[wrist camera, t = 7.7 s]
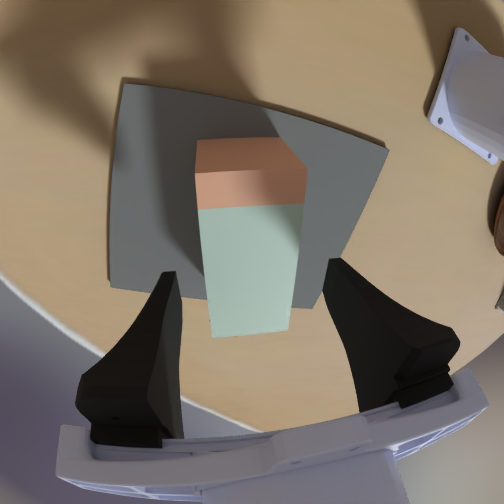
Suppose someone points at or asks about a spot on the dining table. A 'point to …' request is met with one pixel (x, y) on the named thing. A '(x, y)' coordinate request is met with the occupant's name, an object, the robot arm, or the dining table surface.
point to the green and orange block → (249, 231)
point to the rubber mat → (184, 186)
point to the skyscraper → (500, 303)
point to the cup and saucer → (499, 228)
